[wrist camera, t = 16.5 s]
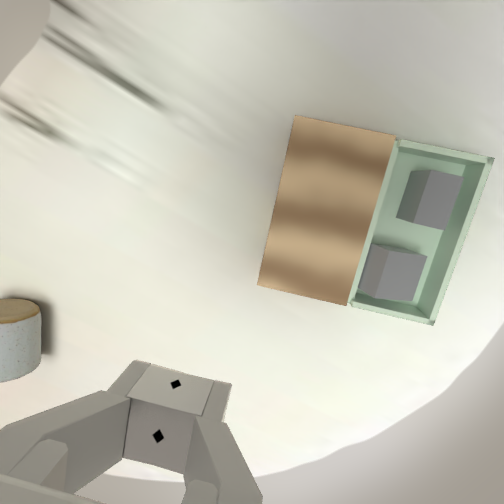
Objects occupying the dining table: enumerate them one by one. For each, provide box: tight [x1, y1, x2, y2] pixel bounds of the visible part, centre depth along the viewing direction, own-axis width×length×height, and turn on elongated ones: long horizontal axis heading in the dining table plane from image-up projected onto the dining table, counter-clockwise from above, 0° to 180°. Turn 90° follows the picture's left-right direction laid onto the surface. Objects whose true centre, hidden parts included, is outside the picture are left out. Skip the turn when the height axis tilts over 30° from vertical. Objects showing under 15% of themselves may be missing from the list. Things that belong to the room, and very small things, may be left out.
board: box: [257, 115, 396, 306], centre depth 35 cm, size 18×10×3 cm, turn 168°
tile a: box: [396, 170, 464, 231], centre depth 32 cm, size 5×5×3 cm
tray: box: [347, 139, 495, 326], centre depth 34 cm, size 17×9×4 cm, turn 168°
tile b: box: [358, 243, 427, 301], centre depth 34 cm, size 5×5×3 cm
